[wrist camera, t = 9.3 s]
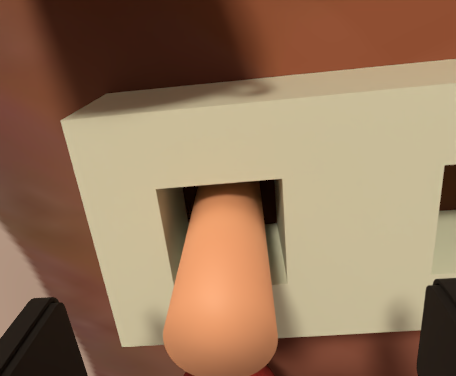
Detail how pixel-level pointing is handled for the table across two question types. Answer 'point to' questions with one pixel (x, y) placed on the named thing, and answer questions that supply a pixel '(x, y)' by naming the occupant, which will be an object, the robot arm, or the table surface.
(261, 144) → the socket block
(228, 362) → the peg
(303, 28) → the table surface
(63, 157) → the table surface
